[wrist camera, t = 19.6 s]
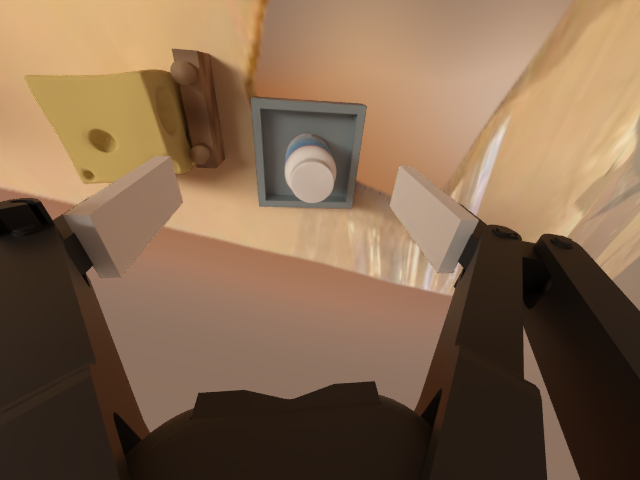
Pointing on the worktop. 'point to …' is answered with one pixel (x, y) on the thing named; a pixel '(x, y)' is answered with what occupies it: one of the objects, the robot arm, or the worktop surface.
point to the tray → (297, 118)
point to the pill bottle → (309, 168)
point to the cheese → (116, 121)
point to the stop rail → (199, 106)
